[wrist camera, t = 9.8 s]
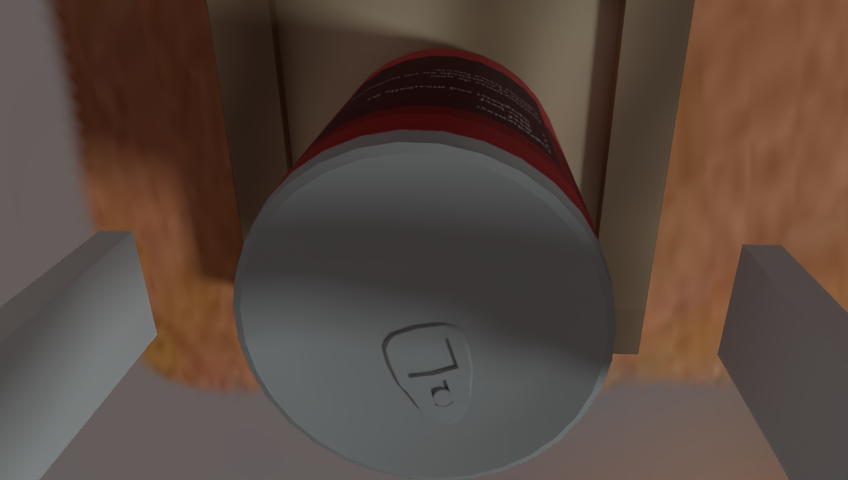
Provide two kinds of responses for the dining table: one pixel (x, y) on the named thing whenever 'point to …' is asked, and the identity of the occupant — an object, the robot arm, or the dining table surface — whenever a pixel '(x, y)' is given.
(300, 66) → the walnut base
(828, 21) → the dining table surface
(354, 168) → the canned food
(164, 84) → the dining table surface
